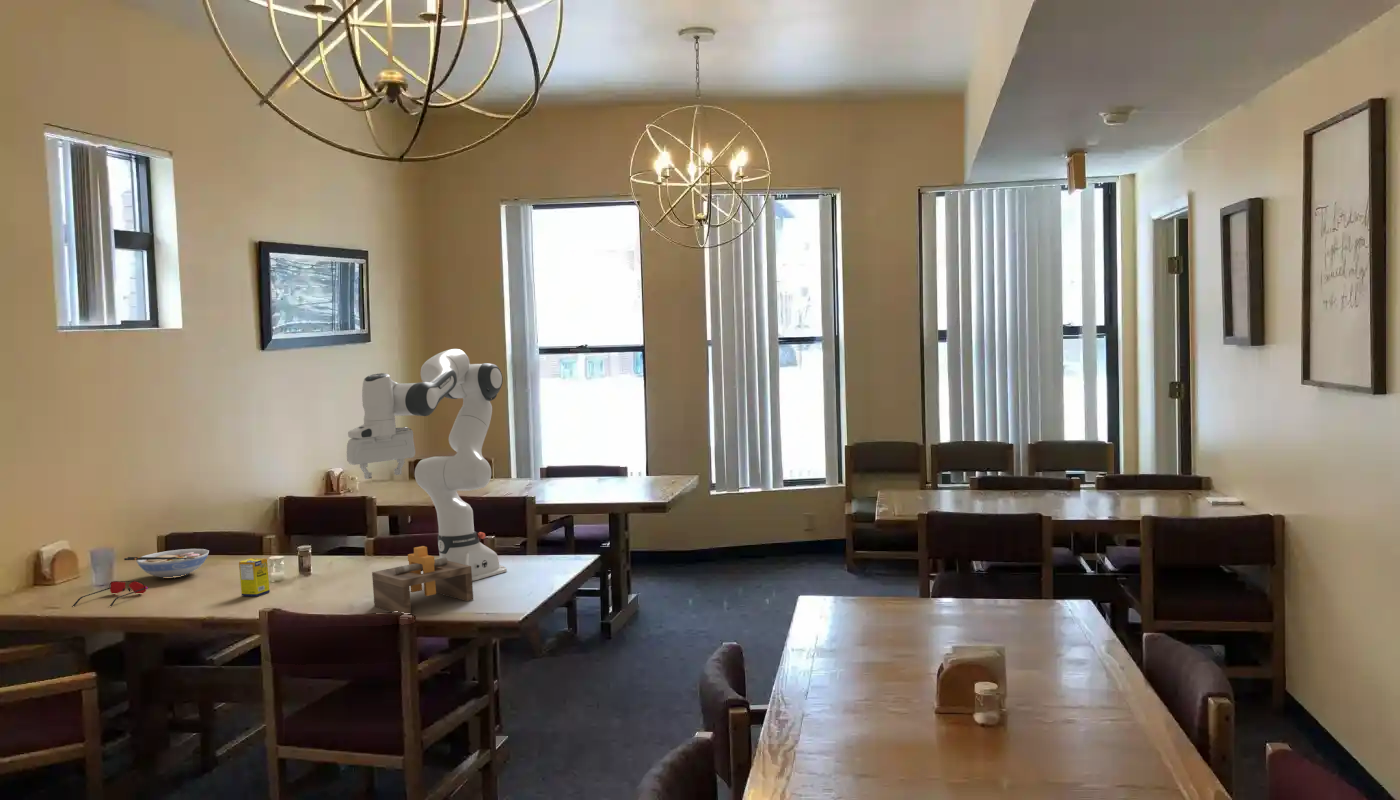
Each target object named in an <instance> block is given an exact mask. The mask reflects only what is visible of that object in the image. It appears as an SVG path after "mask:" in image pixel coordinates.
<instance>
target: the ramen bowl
mask: <svg viewBox="0 0 1400 800" xmlns="http://www.w3.org/2000/svg"><path fill="white" fill-rule="evenodd" d="M209 553H210V550H208V549H206V548H205V549H204V548H185V549H183V548H182V549H175V550H174V549H172V550H166V551H160V552H154V553H150V554H146V555H142V556H140V557H139V556H128V557H125V558H123V560H124V561H135V562H136V564H137V565H138V566H139V567H140V569H142V570H143V572H145V573H146V574H148V575H151V576H154V577H159V578H162V577H173V576H181V575H185V574H187V575H189V574H190V573H193V572H194V571H196V570H198V569H199V568H200V567H201V566H202V565H203V564H204V563H205V561H206V559H207V558H208V555H209Z"/></svg>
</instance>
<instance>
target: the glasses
mask: <svg viewBox="0 0 1400 800" xmlns="http://www.w3.org/2000/svg"><path fill="white" fill-rule="evenodd" d="M126 583H129V584H128V588H127V591H128V593H126V594H123V595H120V596H119V595H118V596H117V597H115V598H114V599H113V601H112V602H111V603H110V604H109V606H113V605H114V603H115V602H116V601H117V600H118V599H119V598H122V597H125V596H128V595H131V594H136V593H143V594H145V593H146V591H147V589H149V588H148V586H146V585H145V584H144V582H143V581H139V580H138V581H137V580H132V581H131V580H129V581H128V580H125V581H124V580H113V581H111V582H110V584H109V587H107V588H105V589H101V590H98V591H95V592H92V593H89V594H86V595H83V596H80V597H79V598H78V599H77V600H76V601H75V602H74V604H73V605H71V607H72V608H74V607H75V606H76V605H77V604H78V603H79V602H80V600H81V599H83V598H85V597H88V596H92V595H94V594H98V593H101V592H105V591H108V590H109V592H110V593H111V594H112V593H117V594H118V593H121V592H124V591H126ZM73 606H74V607H73Z"/></svg>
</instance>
